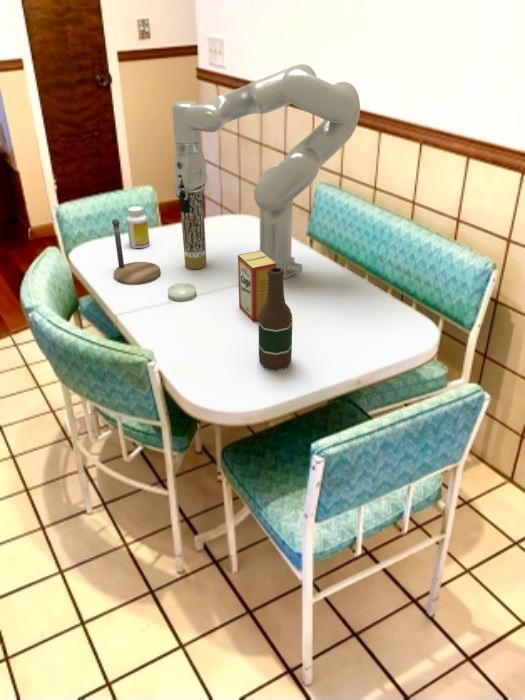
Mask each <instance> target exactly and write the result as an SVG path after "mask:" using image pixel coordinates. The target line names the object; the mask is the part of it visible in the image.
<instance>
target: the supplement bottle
mask: <svg viewBox="0 0 525 700" xmlns="http://www.w3.org/2000/svg"><path fill="white" fill-rule="evenodd" d="M127 210H128V214H129V215H128V216H127V217H126V225H127V234H128V242H129V246H130V247H131V248H133V249H136V248H141V249H145V248H147V247H148V246H150V236H149V235H150V234H149V226H148V218H147V216H146V215H145V214H144V209H143V206H138V205H137V206H135V205H134V206H131V207H129V208H128V209H127Z"/></svg>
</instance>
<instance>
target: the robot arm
mask: <svg viewBox="0 0 525 700" xmlns="http://www.w3.org/2000/svg"><path fill="white" fill-rule="evenodd" d="M289 105H293V106H295V107H296V108H298V109H300V110H303V111H304V112H307V113H309V114H311V115H314V116H316V117H318V118H320V119H322V120H323V121H322V122H321V123H320V124H319V125H318V126H316V127H315V129H314V130H312V131H311V133H309V134H308V135H307V136H306V137H304V139H302V140H301V141H300V142H299V143H297V144H296V145H295V146H294V147H292V148H291V149H290V151H289V152H288V153H287V155H286V157H284V159H283V160H282V161H281V162H280V163H279V164H277V166H273V167H269V168H268V169H267V170H266V171H264V172H263V173H262V174H261V177H260V178H259V180H258V182H257V183H256V185H255V187H254V191H253V196H254V201H255V204H256V205H257V207H259V251H261V252H263V253H264V254H265V255H266V256H267V257H269V258H270V259H271V260H272V261H274V262H275V263H276V268H281V269H282V270H284V275H283V280H285V279H288V278H290V277H292V276H294V275H296V273H298V274H302V272H303V264H302V263H300V262H299V263H298V262H295V257H294V256H292V247H293V246H292V241H293V240H292V239H293V238H292V237H293V234H292V233H293V209H294V208H293V205H294V199H295V198H296V197H298V195H300V194H302V192H304V191H305V190H306V189H307V188H308V187H310V186H311V184H312V183H313V182H314V181H315V180H316V178H317V176H318V175H319V171H320V169H321V168H322V167H323V166H324V164H325V163H327V162H328V160H329V159H331V158H332V157H334V155H335V154H336V153H337V152H339V151H340V150H341V149H342V148H343V146H345V144H347V142H348V141H349V140H350V138H351V137H352V136H353V134H354V133H355V130H356V129H357V126H358V122H359V119H360V116H361V115H360V114H361V102H360V96H359V93H358V90H357V88H356V87H355V86H354V85H353V84H352V83H350V82H347V81H339V82H335V83H334V84H332V83H330V82H327V81H325V80H323V79H322V78H319V77H317V74H316V71H315V70H314V69H313V68H312V67H311V66H310V65H308V64H304V63H299V64H297V65H292V66H291V67H288V68H285V69H283V70H280V71H278V72H275V73H273V74H270V75H268V76H266V77H263V78H260V79H257V80H255V81H253V82H250V83H248V84H245V85H244V86H241V87H239V88H235V89H233V90H231V91H229V92H226V93H223V94H220V95H218V96H215V97H213V98H211V99H210V100H208V101H207V102H204V103H202V104H199V103H198V102H197V101H194V100H187V99H185V100H179V101H178V100H177V101H175V102H174V103H173V104H172V109H171V110H172V122H173V123H172V125H173V135H174V138H173V139H174V152H175V158H174V179H175V180H174V181H175V184H174V186H173V189H172V190H173V192H174V194H175V195H176V197H177V199H178V200H179V201H178V202H179V212H180V213H181V212H185V213H189V212H190V204H189V199H188V194H189V191H192V190H194V189H196V188H198V187H200V186H202V188H203V205H204V206H205V196H204V195H205V194H204V193H205V186H206V183H207V181H208V173H207V166H206V159H205V154H204V151H203V146H202V132H204V133H216V132H218V131H220V130H221V129H222V128H223V127H224V126H225V125H226V124H227V123H229V122H232V121H235V120H238V119H239V118H240V119H241V118H242V117H246V116H248V115H254V114H259V115H264V114H268V113H270V112H274V111H276V110H279V109H282V108H284V107H286V106H289ZM183 187H185V188H183ZM182 190H183V191H185V195H184V194H183V192H182Z"/></svg>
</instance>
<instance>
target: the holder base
mask: <svg viewBox="0 0 525 700" xmlns="http://www.w3.org/2000/svg"><path fill="white" fill-rule="evenodd" d="M120 223H121V222H120V220H119V219H118V218H113V219H112V221H111V224H112V226H113V232H114V239H115V241H114V242H115V248H116V255H117V263H118V267H116V268H115V269H114V270H113V277H114V278H113V279H114V280H115V281H116V282H118V283H120V284H123V285H129V286H131V285H133V286H136V285H143V284H148V283H151V282H154V281H156V280H157V279H159V278H160V277H161V273H162V272H161V267H160V266H159V265H158V264H155V263H153V262H148V261H133V262H128V263H125V262H124V255H123V247H122V239H121V231H120Z"/></svg>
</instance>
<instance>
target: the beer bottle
mask: <svg viewBox="0 0 525 700" xmlns="http://www.w3.org/2000/svg"><path fill="white" fill-rule="evenodd" d="M267 275H268V276H269V278H268V292H267V300H266V304H265V305H264V306H263V308H262V309H261V312H260V314H259V321H258V362H259V363H260V364H261V365H262V367H263V368H264V369H266V368H268V369H267V370H271V369H274V370H273V371H279V370H278V369H280V370H282V369H281V368H284V369H286V368H285V367H287V368H288V366H289V365H290V363H291V361H292V357H293V356H292V354H293V353H292V351H293V349H292V348H293V314H292V311H291V308H290V307H289V305H287V303H286V300H285V287H284V279H283V275H284V270H282V269H281V268H276V267H275V268H270V269H269V270H268V273H267Z"/></svg>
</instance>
